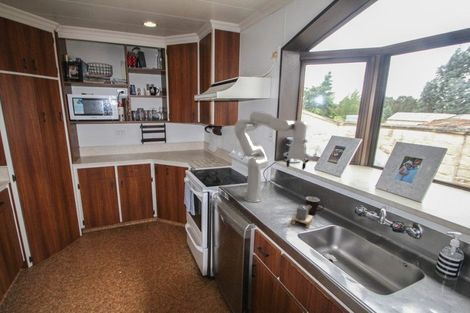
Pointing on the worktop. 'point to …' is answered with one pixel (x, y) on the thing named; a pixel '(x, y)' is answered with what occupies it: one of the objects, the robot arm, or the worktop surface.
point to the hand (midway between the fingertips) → (295, 167)
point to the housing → (302, 212)
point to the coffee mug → (313, 205)
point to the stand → (307, 221)
